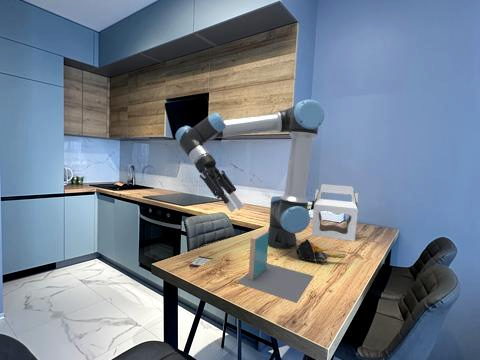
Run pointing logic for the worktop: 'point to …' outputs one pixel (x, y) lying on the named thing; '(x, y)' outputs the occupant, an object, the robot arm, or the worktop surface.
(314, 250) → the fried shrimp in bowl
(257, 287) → the mat
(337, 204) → the gable box
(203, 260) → the chocolate bar
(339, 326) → the worktop surface
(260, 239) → the tile
